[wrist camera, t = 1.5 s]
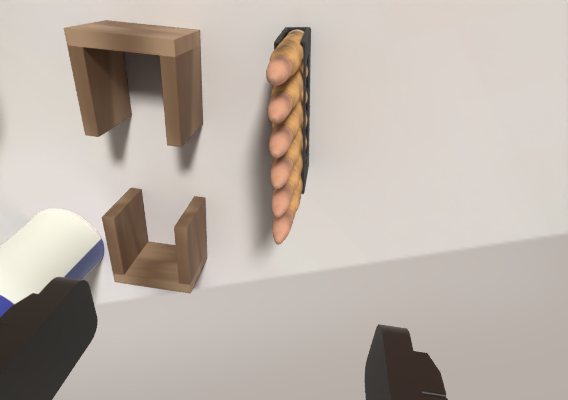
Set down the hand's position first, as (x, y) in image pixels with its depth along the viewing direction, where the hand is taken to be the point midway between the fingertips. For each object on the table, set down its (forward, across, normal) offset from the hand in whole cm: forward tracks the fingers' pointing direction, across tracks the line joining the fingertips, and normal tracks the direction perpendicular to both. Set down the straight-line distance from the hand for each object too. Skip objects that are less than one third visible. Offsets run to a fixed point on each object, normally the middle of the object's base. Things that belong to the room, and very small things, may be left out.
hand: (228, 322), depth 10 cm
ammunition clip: (+22, 0, 0) cm, 22 cm away
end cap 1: (+22, +11, -1) cm, 24 cm away
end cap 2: (+22, +11, +13) cm, 28 cm away
